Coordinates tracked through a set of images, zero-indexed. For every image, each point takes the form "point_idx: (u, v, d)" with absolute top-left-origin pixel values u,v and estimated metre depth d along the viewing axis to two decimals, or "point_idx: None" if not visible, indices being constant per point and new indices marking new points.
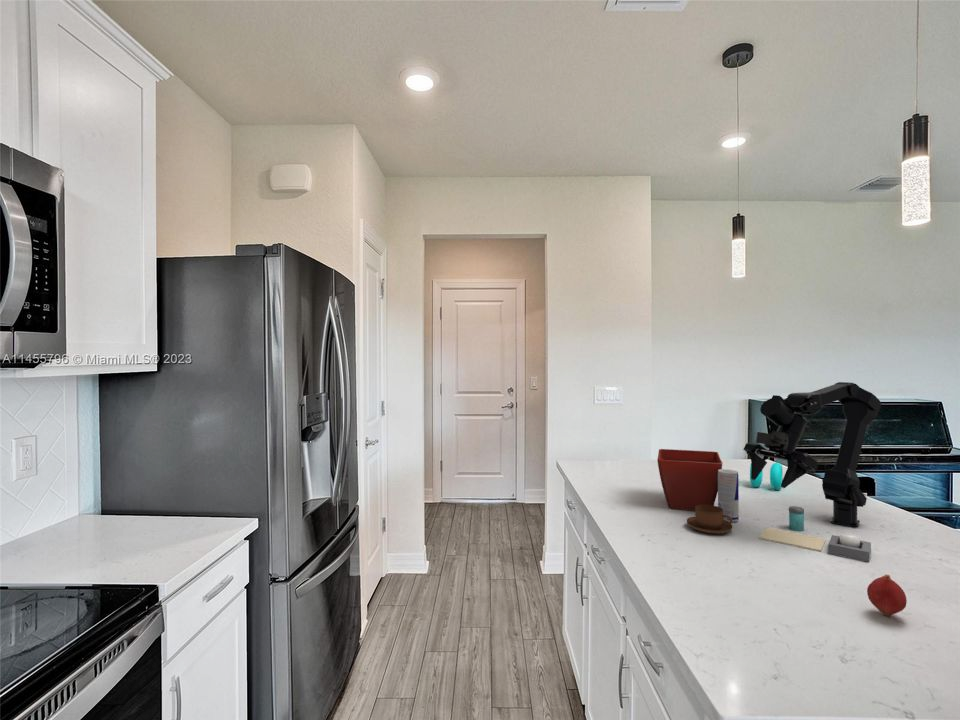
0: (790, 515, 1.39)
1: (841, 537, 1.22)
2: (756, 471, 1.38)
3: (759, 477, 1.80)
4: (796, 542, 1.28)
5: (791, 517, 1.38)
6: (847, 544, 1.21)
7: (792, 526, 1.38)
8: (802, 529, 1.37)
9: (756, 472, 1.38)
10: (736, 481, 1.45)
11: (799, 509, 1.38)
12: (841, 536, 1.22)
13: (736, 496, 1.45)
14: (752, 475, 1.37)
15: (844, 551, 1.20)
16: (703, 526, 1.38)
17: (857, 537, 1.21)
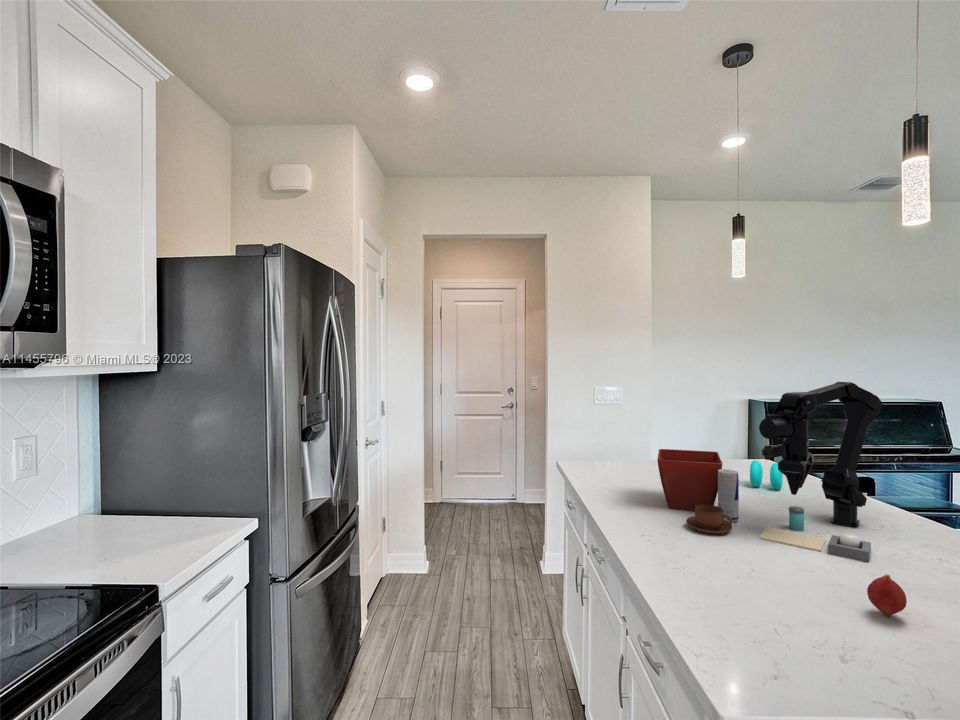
0: (790, 515, 1.39)
1: (841, 537, 1.22)
2: None
3: (759, 477, 1.80)
4: (796, 542, 1.28)
5: (791, 517, 1.38)
6: (847, 544, 1.21)
7: (792, 526, 1.38)
8: (802, 529, 1.37)
9: None
10: (736, 481, 1.45)
11: (799, 509, 1.38)
12: (841, 536, 1.22)
13: (736, 496, 1.45)
14: None
15: (844, 551, 1.20)
16: (703, 526, 1.37)
17: (857, 537, 1.21)
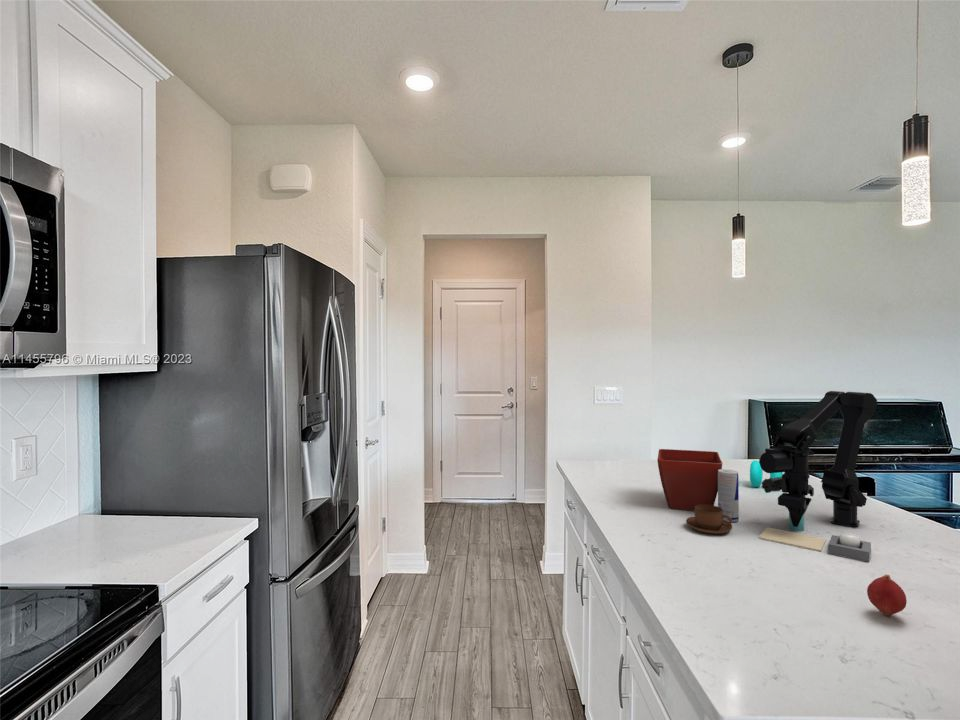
0: None
1: (841, 537, 1.22)
2: None
3: (759, 477, 1.80)
4: (796, 542, 1.28)
5: None
6: (847, 544, 1.21)
7: (792, 526, 1.38)
8: (802, 529, 1.37)
9: None
10: (736, 481, 1.45)
11: None
12: (841, 536, 1.22)
13: (736, 496, 1.45)
14: None
15: (844, 551, 1.20)
16: (703, 526, 1.37)
17: (857, 537, 1.21)
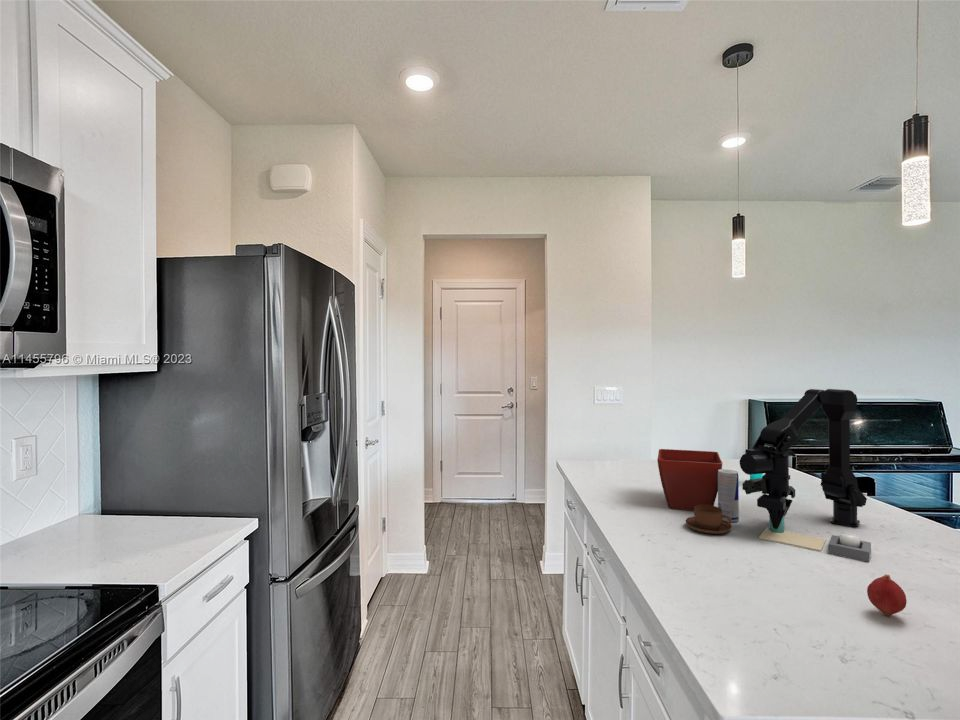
0: None
1: (841, 537, 1.22)
2: None
3: (759, 477, 1.80)
4: (796, 542, 1.28)
5: None
6: (847, 544, 1.21)
7: (772, 528, 1.36)
8: (782, 530, 1.35)
9: None
10: (736, 481, 1.45)
11: None
12: (841, 536, 1.22)
13: (736, 496, 1.45)
14: None
15: (844, 551, 1.20)
16: (702, 526, 1.37)
17: (857, 537, 1.21)
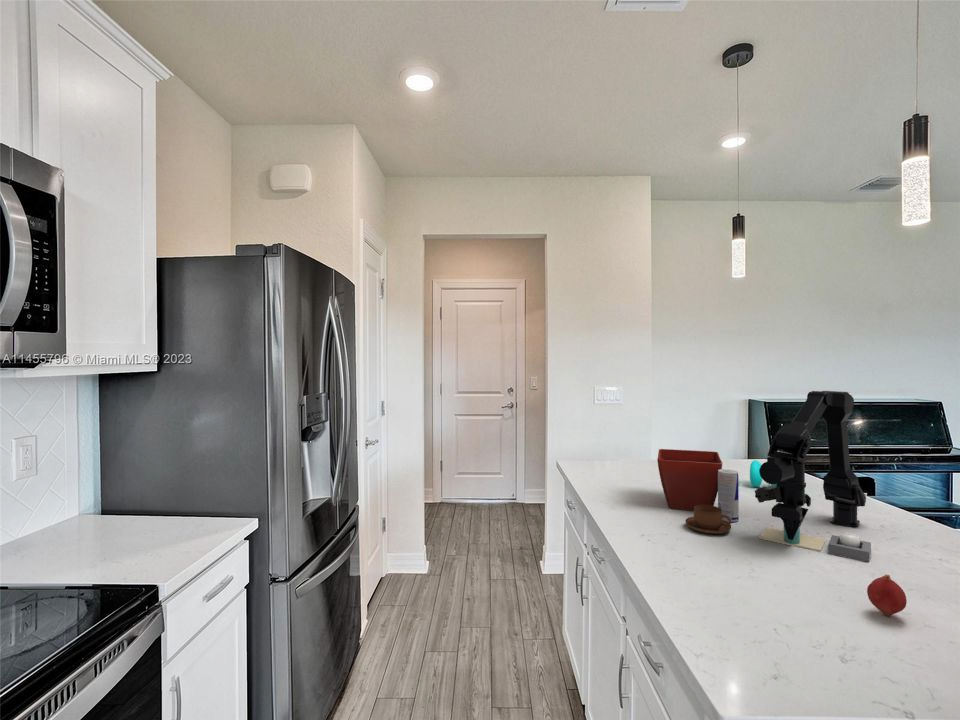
0: None
1: (841, 537, 1.22)
2: None
3: (759, 477, 1.80)
4: None
5: None
6: (847, 544, 1.21)
7: (787, 539, 1.28)
8: (798, 541, 1.27)
9: None
10: (736, 481, 1.45)
11: None
12: (841, 536, 1.22)
13: (736, 496, 1.45)
14: None
15: (844, 551, 1.20)
16: (702, 526, 1.37)
17: (857, 537, 1.21)
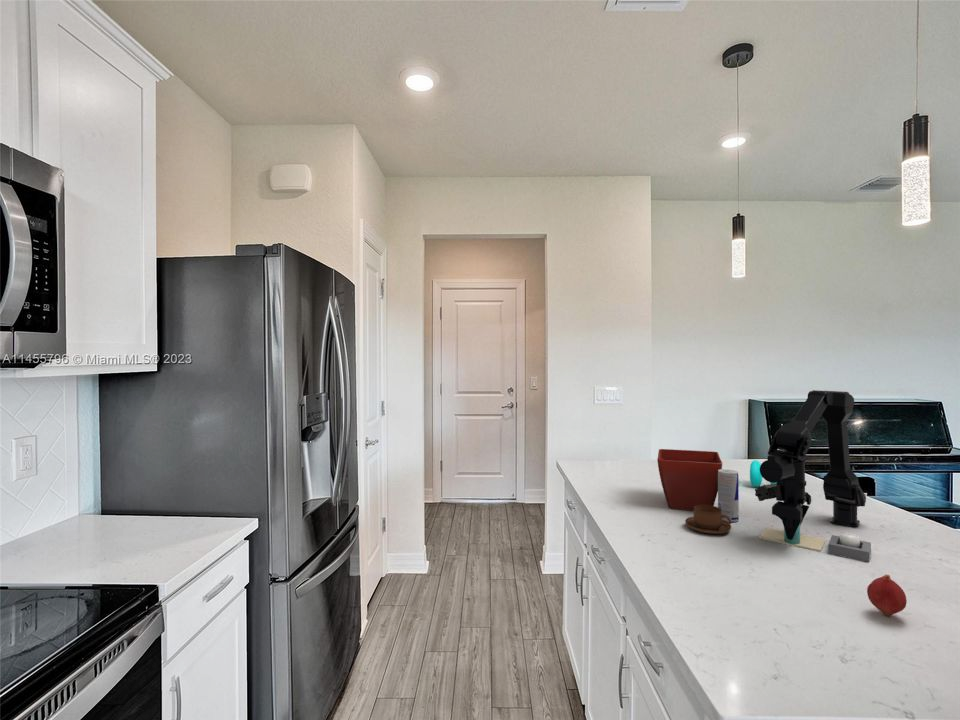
0: None
1: (841, 537, 1.22)
2: None
3: (759, 477, 1.80)
4: None
5: None
6: (847, 544, 1.21)
7: (787, 539, 1.28)
8: (798, 542, 1.27)
9: None
10: (736, 481, 1.45)
11: None
12: (841, 536, 1.22)
13: (736, 496, 1.45)
14: None
15: (844, 551, 1.20)
16: (702, 526, 1.37)
17: (857, 537, 1.21)
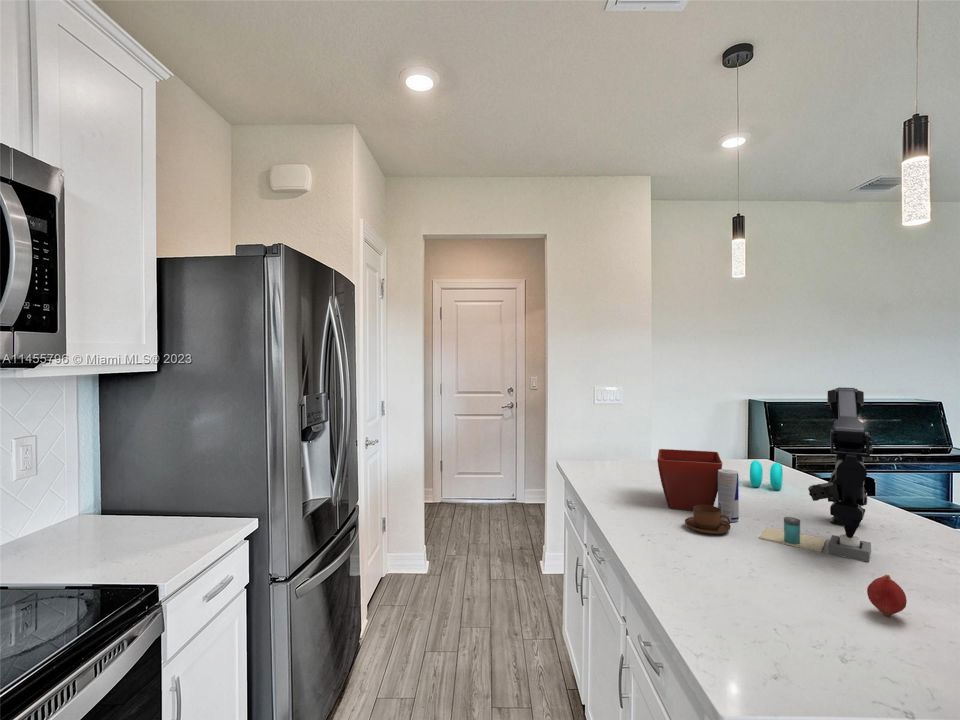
0: (785, 527, 1.28)
1: (841, 539, 1.22)
2: None
3: (759, 477, 1.80)
4: None
5: (786, 529, 1.28)
6: None
7: (787, 539, 1.28)
8: (798, 542, 1.27)
9: None
10: (736, 481, 1.45)
11: (795, 520, 1.27)
12: (841, 538, 1.22)
13: (736, 496, 1.45)
14: (846, 532, 1.23)
15: (844, 551, 1.20)
16: (702, 526, 1.37)
17: (857, 539, 1.21)
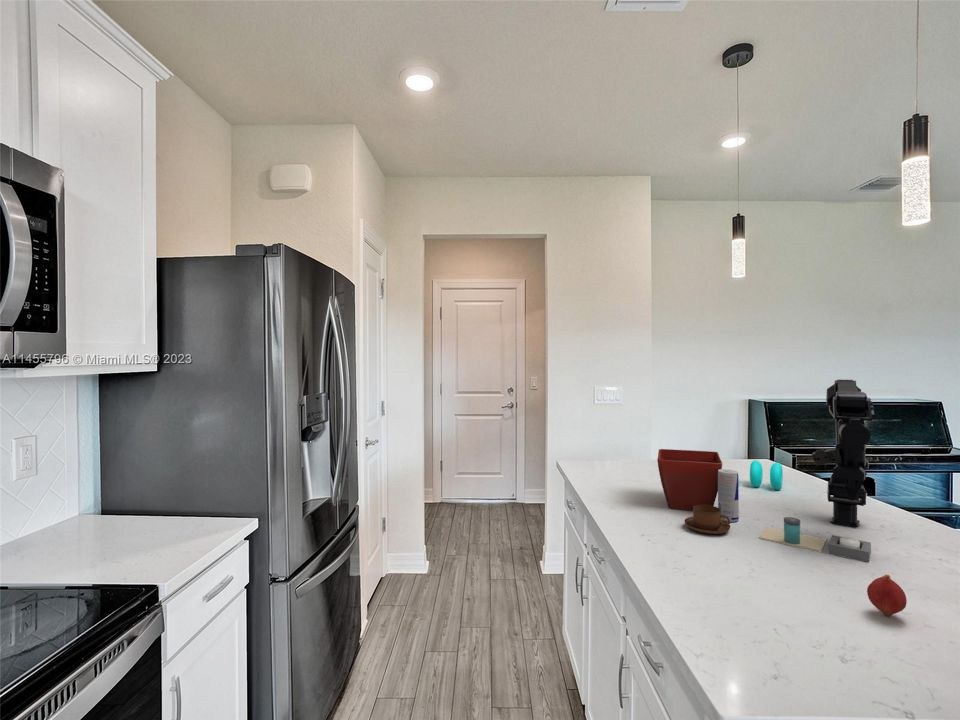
0: (785, 527, 1.28)
1: (841, 542, 1.22)
2: None
3: (759, 477, 1.80)
4: None
5: (786, 529, 1.28)
6: None
7: (787, 539, 1.28)
8: (798, 542, 1.27)
9: None
10: (736, 481, 1.45)
11: (795, 520, 1.27)
12: (841, 541, 1.22)
13: (736, 496, 1.45)
14: (848, 495, 1.27)
15: (844, 551, 1.20)
16: (701, 526, 1.37)
17: (857, 542, 1.21)
